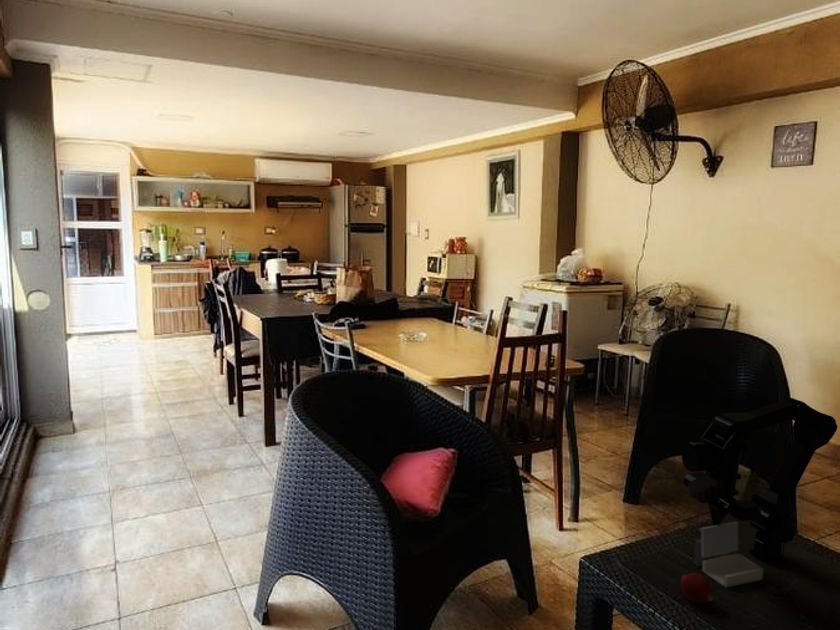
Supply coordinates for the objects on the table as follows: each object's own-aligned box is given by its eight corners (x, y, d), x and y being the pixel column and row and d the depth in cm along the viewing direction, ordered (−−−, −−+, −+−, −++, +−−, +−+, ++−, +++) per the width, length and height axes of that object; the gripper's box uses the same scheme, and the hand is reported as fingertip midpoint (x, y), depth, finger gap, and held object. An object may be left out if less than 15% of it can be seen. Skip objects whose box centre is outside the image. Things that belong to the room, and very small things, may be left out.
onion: (690, 585, 138) (719, 609, 131) (671, 591, 136) (699, 615, 129) (694, 563, 137) (723, 586, 130) (674, 568, 134) (703, 592, 127)
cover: (738, 550, 148) (733, 548, 149) (738, 522, 148) (733, 520, 149) (703, 557, 144) (699, 555, 146) (703, 529, 144) (699, 526, 146)
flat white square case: (726, 556, 152) (729, 533, 151) (762, 579, 142) (765, 555, 141) (691, 563, 148) (693, 540, 147) (726, 587, 138) (728, 563, 137)
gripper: (670, 454, 151) (662, 511, 154) (728, 490, 133) (718, 553, 137) (706, 450, 154) (697, 506, 157) (767, 484, 137) (756, 547, 140)
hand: (715, 527), depth 148 cm, fingers closed, pressing on cover
